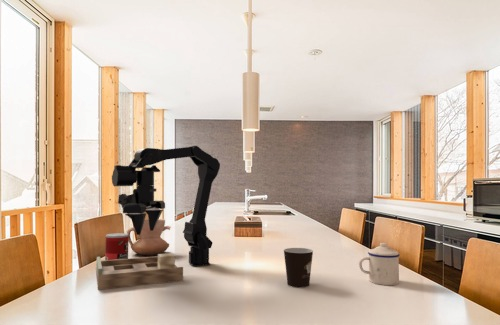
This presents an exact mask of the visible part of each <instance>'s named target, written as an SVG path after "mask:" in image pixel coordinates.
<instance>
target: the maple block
mask: <svg viewBox="0 0 500 325" xmlns="http://www.w3.org/2000/svg"><path fill="white" fill-rule="evenodd" d="M157 256H158V269H163V268H175V265H176V255H175V254H173V253H172V252H170V253H160V254H157Z"/></svg>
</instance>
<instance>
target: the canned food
mask: <svg viewBox="0 0 500 325" xmlns="http://www.w3.org/2000/svg"><path fill="white" fill-rule="evenodd" d="M104 248H105V249H104V252H105V255H104V260H116V259H129V236H128V234H127V232H125V233H124V232H116V233H115V232H114V233H108V234H106V235H105V247H104Z"/></svg>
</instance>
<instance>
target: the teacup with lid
mask: <svg viewBox="0 0 500 325" xmlns="http://www.w3.org/2000/svg"><path fill="white" fill-rule="evenodd" d="M387 245H388V244H387V243H386V242H380V243H379V246H376V247H375V248H372V249H369V250H368V252H367V254H368V256H363V257H361V259H359V261H358V267H359V269H360V271H361V272H362V273H363V274H366V275H368V280H369V281H370V283H373V284H375V285H382V286H396V285H398V284H399V283H400V268H399V267H400V266H399V265H400V263H399V262H400V261H399V260H400V259H399V257H400V252H398V251H397V250H396V249H395V250H394V249H393V248H391V247H390V246H387ZM364 261H368V270H364V268H363V265H362V264H363V262H364Z"/></svg>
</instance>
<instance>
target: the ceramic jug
mask: <svg viewBox="0 0 500 325" xmlns="http://www.w3.org/2000/svg"><path fill="white" fill-rule="evenodd" d="M165 225H166V219H165V218H159V219H158V221H157V223H156V226H155V228H154V230H153V231H150V227H149V219H145V220H144V224H143V227H142V231H141V234H140V235H138V236H139V239H137V240H136V241H135V242H134V243H133V241H132V239H131V232H135V233H136V231H135V228H134V226H133V227H129V228H128V230H127V231H126V234H128V236H129V241H128V244H130V245H129V246H130V249H131V250H132V251H133V252H134V254H137V255H140V256H155V255H156V256H158V254H164V252H166V251H167V250H168V249H169V247H170V243H168V242H167V241H166V240H165V239H164V238H162V237H161V236H162V233H163V232H164V231H166V230H168V231H170V230H171V228H172V227H171V226H169V225H166V226H165Z"/></svg>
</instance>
